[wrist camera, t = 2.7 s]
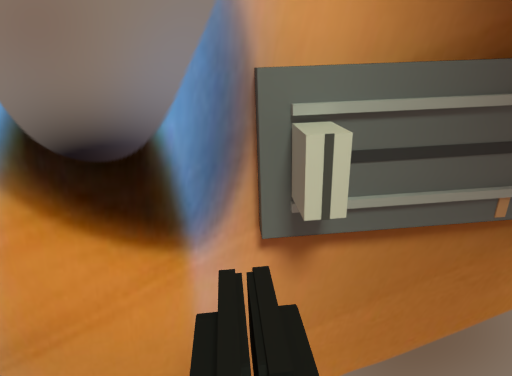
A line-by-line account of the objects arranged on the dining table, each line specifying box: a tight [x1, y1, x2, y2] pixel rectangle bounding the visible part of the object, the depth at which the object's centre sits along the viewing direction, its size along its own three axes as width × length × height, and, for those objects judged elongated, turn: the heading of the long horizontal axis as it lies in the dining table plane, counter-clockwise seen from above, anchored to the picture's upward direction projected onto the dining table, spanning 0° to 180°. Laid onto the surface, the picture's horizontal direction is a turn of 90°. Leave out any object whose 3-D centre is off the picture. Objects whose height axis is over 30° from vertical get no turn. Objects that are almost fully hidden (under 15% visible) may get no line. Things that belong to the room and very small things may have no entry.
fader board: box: [255, 58, 512, 239], centre depth 27 cm, size 14×28×3 cm, turn 92°
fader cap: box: [292, 121, 353, 221], centre depth 23 cm, size 6×3×4 cm, turn 2°
